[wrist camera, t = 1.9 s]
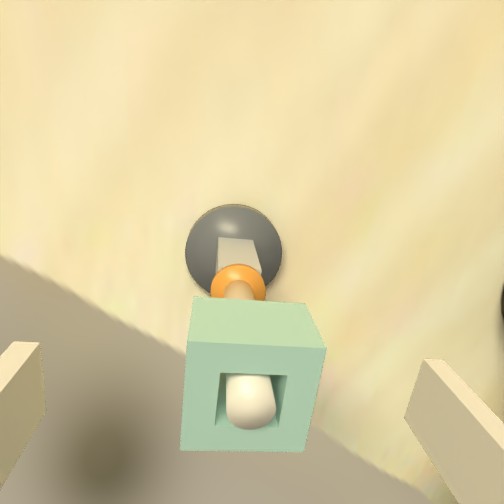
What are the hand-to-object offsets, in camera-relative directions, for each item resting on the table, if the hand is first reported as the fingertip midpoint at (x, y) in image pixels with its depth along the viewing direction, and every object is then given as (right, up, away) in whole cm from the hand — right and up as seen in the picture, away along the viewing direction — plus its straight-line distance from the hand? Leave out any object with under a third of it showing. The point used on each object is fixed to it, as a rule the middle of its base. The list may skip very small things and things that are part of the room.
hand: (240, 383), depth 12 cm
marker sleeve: (0, +1, +2) cm, 2 cm away
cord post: (-1, +5, +14) cm, 14 cm away
